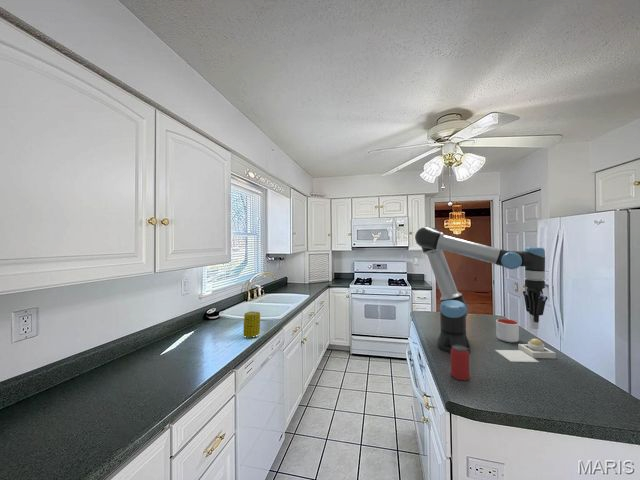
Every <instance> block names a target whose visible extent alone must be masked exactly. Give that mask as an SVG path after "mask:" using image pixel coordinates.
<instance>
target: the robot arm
mask: <svg viewBox="0 0 640 480" xmlns="http://www.w3.org/2000/svg"><path fill="white" fill-rule="evenodd" d="M414 240H415V242H416V244H417V246H419V247H421V250H422V253H423V254H424V255H426V256H427V259H428V261H429V264H430V267H431V270H432V272H433V276H434V278H435V281H436V283H437V287H438V288H439V291H440V294H441V296H440V298H439V300H440V305H439V315H440V316H439V317H440V333H439V335H438V338H437V342H436V343H437V344H436V346H437V349H439V350H440V351H442V352H444V353H448V354H451V349H452V346H453V345H462V346H465V347H467V350H468V352H469V354H470V353H471V349H472V348H471V344H470V342H469V339H468V336H467V316H468V314H469V310H470V309H469V306H468V304H467V302H466V301H465V298H464V296H463V294H462V292H460V291H458V288H457V285H456V283H455V281H454V278H453V275H452V272H451V270H450V267H449V264H448V261H447V259H446V256H445V253H444V251H445V252H449V253H454V254H457V255H461V256H463V257H468V258H472V259H475V260H479V261H482V262H486V263H489V264H490V263H491V264H493V265H497V266H501V267H504V268H505V269H508V270H516V269H518V268H520V267H524V278H525V279H524V287H525V288H526V290H524V291H522V295H523V298H524V304H525V310H526V312H528V314H529V323H530V324H529V326H530V329H533V330H535V329H536V330H538V329H539V322H540V316H543V315H544V311H545V306H546V304H547V303H546V302H547V300H548V296H545V295H544V291H543V290H544V289H545V288H546V281H545V279H546V272H545V271H546V251H545V248H543V247H537V246H536V247H535V246H534V247H532V246H528V247H525V249H524V250H522V251H521V250H520V251H518V250H505V249H500V248H497V247H494V246H490V245H489V246H488V245H485V244H481V243H477V242H474V241H468V240H465V239H462V238H459V237H458V238H457V237H453V236H450V235H447V234H446V235H445V234H444V232H441V231H440V230H439V229H437V228H435V227H430V226H423V227H420V228H419V229H418V230H417V231H416V233H415V235H414Z"/></svg>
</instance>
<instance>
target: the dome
mask: <svg viewBox="0 0 640 480" xmlns="http://www.w3.org/2000/svg"><path fill="white" fill-rule="evenodd" d="M527 344H528V348H529V349H531V350H532V351H544V347H545V344H544V343H543V342H542V341H541V340H540V339H538V338H531V339H530V340H529V341H527Z"/></svg>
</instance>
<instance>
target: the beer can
mask: <svg viewBox="0 0 640 480" xmlns="http://www.w3.org/2000/svg"><path fill="white" fill-rule="evenodd" d="M450 375H451V376H452V378H454V379H456V380H459V381H468V380H469V379H470V353H469V352H468V350H467V347H465V346H462V345H453V346H452V349H451V353H450Z"/></svg>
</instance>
